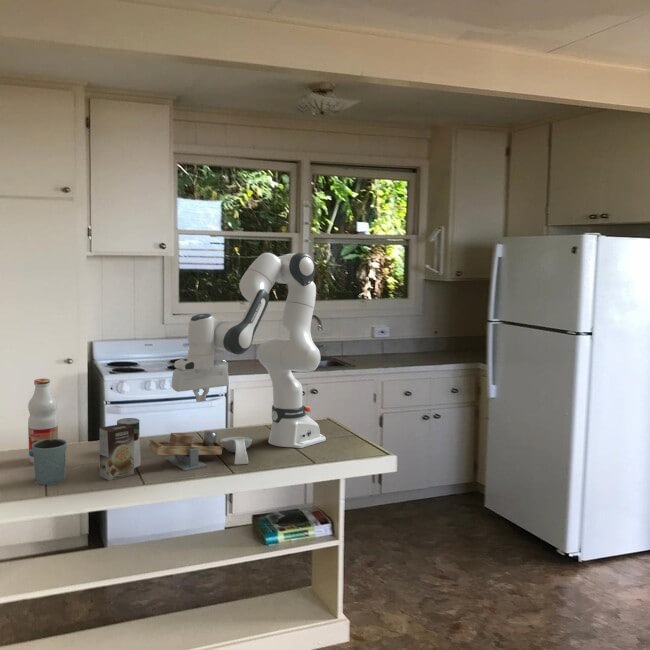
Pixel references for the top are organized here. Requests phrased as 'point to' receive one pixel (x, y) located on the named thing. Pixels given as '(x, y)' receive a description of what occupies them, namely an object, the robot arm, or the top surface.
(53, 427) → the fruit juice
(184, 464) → the stand
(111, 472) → the coffee box
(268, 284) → the robot arm
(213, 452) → the beam
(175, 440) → the block
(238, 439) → the spoon rest
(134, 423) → the canned tomato
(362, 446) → the top surface
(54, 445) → the teal cup
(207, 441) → the cylinder
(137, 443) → the jar
